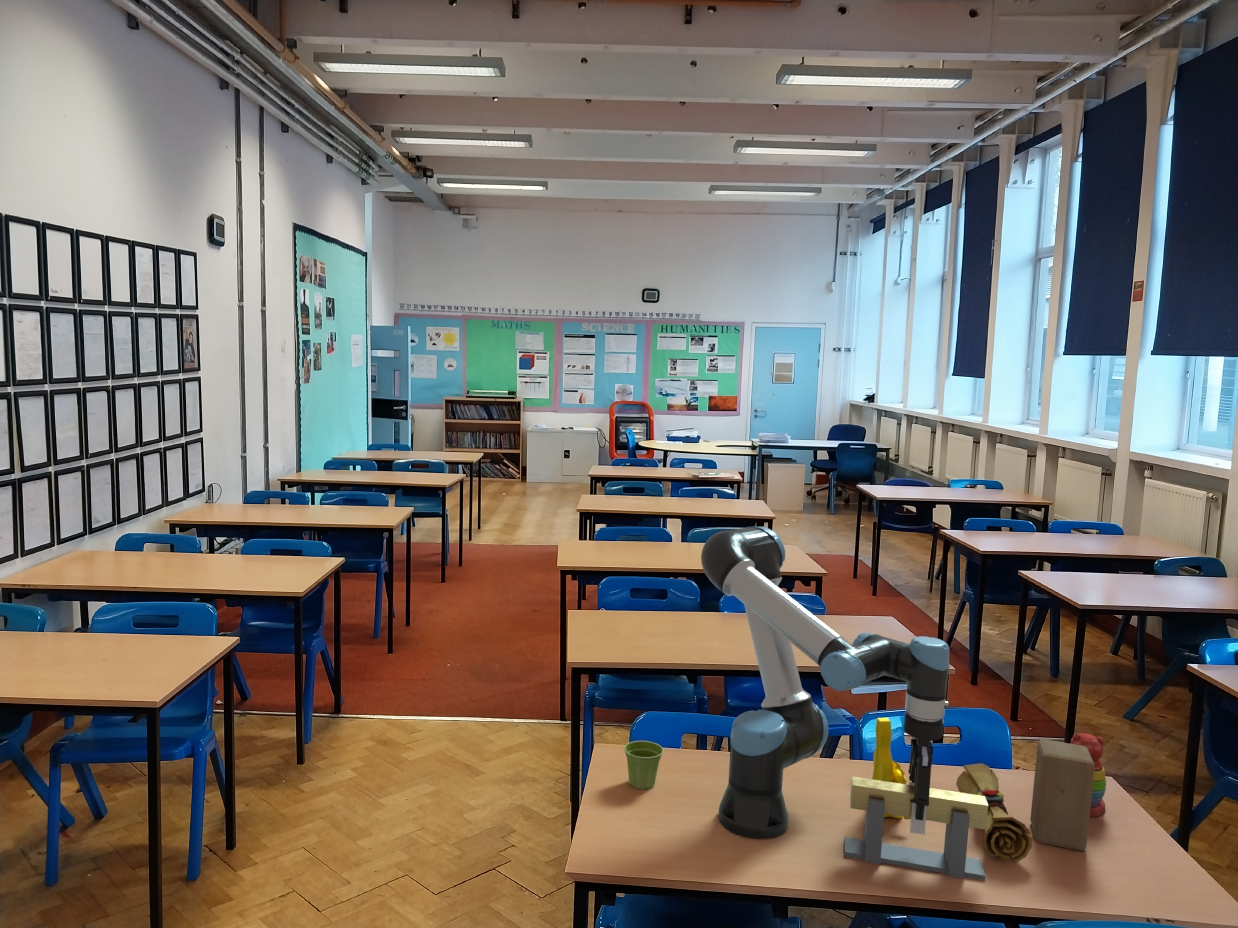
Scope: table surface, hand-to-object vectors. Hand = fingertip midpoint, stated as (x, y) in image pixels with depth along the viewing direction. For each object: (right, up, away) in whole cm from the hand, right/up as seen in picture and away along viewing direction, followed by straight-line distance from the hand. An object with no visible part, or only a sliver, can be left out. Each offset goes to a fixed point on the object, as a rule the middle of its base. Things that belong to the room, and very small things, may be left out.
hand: (915, 822), depth 174 cm
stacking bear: (+48, -8, +27) cm, 56 cm away
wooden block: (+36, -9, +13) cm, 39 cm away
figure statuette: (0, -6, +20) cm, 21 cm away
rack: (0, -8, +1) cm, 8 cm away
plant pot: (-55, -3, +28) cm, 62 cm away
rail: (0, +2, 0) cm, 2 cm away
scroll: (+21, -8, +14) cm, 27 cm away
